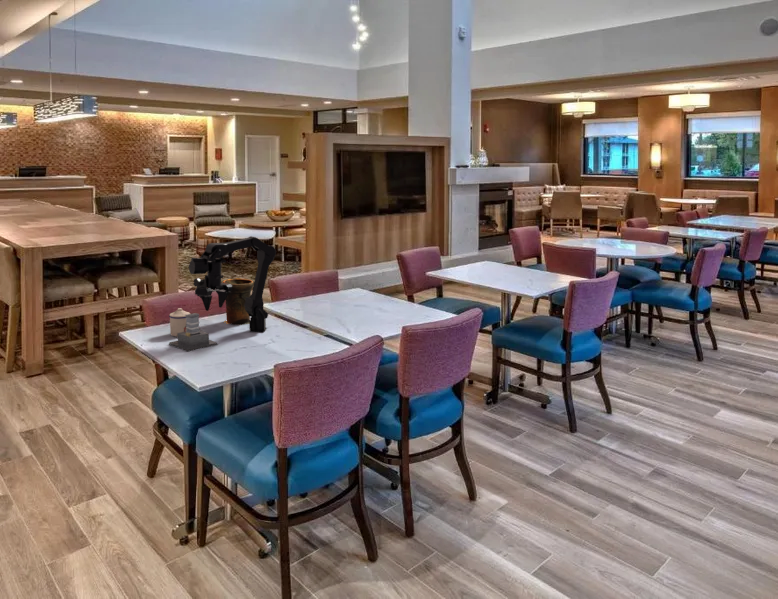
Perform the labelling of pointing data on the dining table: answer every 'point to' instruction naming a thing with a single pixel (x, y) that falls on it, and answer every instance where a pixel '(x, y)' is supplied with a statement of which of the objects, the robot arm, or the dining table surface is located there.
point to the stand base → (193, 341)
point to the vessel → (238, 301)
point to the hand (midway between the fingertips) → (213, 309)
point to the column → (192, 323)
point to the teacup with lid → (178, 322)
